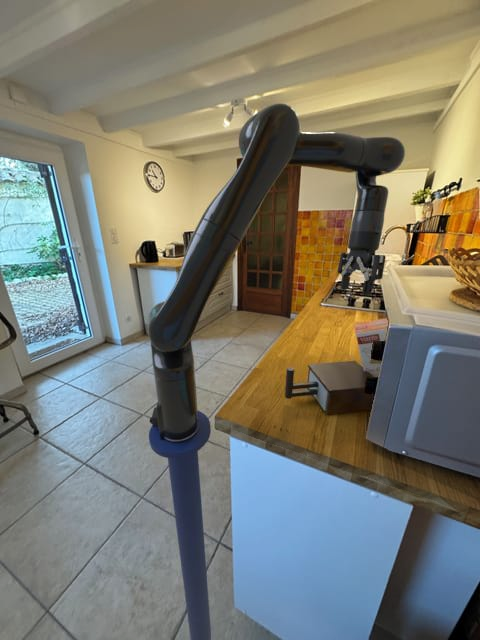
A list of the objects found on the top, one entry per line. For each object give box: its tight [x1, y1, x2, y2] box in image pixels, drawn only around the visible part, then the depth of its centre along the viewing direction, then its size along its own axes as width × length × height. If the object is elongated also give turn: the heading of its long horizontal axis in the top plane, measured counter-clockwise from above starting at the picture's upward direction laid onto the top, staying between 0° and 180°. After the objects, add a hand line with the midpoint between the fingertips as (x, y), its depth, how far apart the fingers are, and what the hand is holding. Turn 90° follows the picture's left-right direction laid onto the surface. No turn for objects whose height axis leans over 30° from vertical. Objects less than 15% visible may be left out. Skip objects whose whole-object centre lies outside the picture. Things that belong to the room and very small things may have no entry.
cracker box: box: [353, 317, 388, 377], centre depth 72 cm, size 14×6×21 cm, turn 71°
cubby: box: [307, 360, 374, 415], centre depth 73 cm, size 16×14×8 cm
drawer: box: [284, 366, 329, 412], centre depth 72 cm, size 23×11×10 cm, turn 99°
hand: (354, 292), depth 71 cm, fingers open, 8 cm apart
